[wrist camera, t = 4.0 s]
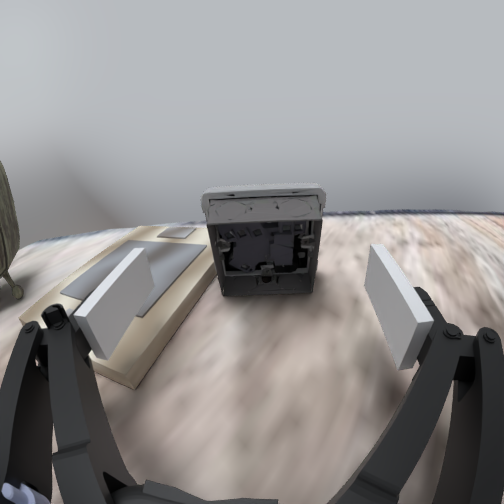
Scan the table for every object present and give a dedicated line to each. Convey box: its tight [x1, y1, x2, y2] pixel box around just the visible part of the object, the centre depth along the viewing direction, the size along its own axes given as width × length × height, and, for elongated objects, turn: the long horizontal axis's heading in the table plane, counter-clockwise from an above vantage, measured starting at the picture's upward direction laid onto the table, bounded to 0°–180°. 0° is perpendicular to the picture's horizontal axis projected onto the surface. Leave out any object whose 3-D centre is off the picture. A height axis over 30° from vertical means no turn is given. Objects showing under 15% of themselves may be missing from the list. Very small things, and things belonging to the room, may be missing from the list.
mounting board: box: [19, 226, 217, 390], centre depth 25 cm, size 15×22×2 cm
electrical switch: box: [201, 183, 326, 296], centre depth 21 cm, size 9×5×9 cm, turn 88°
